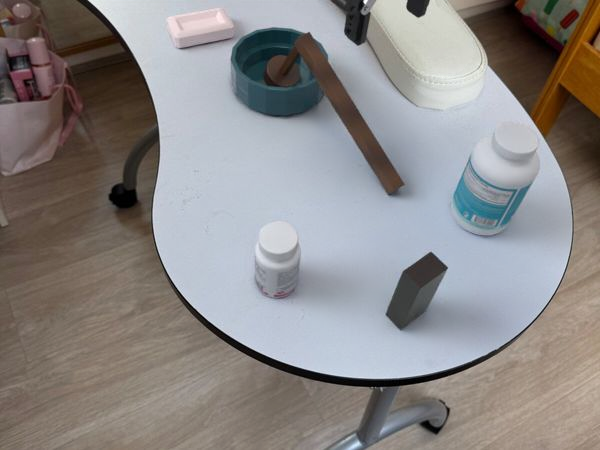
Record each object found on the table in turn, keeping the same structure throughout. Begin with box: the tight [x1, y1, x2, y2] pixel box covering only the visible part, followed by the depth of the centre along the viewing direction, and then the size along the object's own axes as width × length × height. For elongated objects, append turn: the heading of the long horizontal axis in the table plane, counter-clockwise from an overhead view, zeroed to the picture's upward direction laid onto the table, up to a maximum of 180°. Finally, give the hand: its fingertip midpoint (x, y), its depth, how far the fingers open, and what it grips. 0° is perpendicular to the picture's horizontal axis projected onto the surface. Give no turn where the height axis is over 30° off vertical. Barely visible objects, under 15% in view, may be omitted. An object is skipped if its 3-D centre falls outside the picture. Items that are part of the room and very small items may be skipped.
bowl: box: [230, 26, 329, 116], centre depth 82 cm, size 13×13×5 cm
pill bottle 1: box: [254, 220, 302, 299], centre depth 62 cm, size 5×5×8 cm
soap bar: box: [165, 6, 235, 49], centre depth 89 cm, size 5×9×2 cm, turn 113°
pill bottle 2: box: [450, 121, 541, 236], centre depth 67 cm, size 8×7×14 cm
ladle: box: [263, 31, 406, 196], centre depth 77 cm, size 24×5×11 cm, turn 39°
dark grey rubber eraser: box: [385, 251, 449, 331], centre depth 60 cm, size 2×4×9 cm, turn 128°
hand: (385, 26), depth 60 cm, fingers open, 8 cm apart
